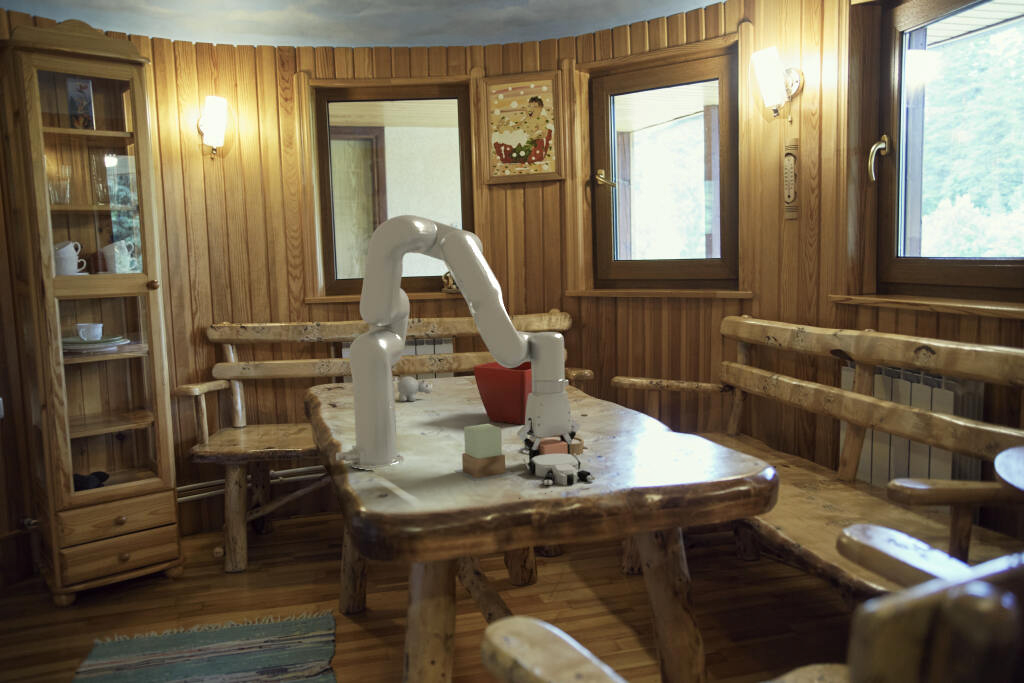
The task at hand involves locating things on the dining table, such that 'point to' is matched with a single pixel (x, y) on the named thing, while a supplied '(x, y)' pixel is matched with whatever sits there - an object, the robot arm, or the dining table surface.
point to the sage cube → (483, 441)
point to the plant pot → (504, 390)
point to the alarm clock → (571, 445)
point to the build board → (481, 477)
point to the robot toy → (558, 469)
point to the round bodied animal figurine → (411, 388)
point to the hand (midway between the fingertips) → (549, 462)
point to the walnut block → (483, 465)
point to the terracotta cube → (552, 447)
